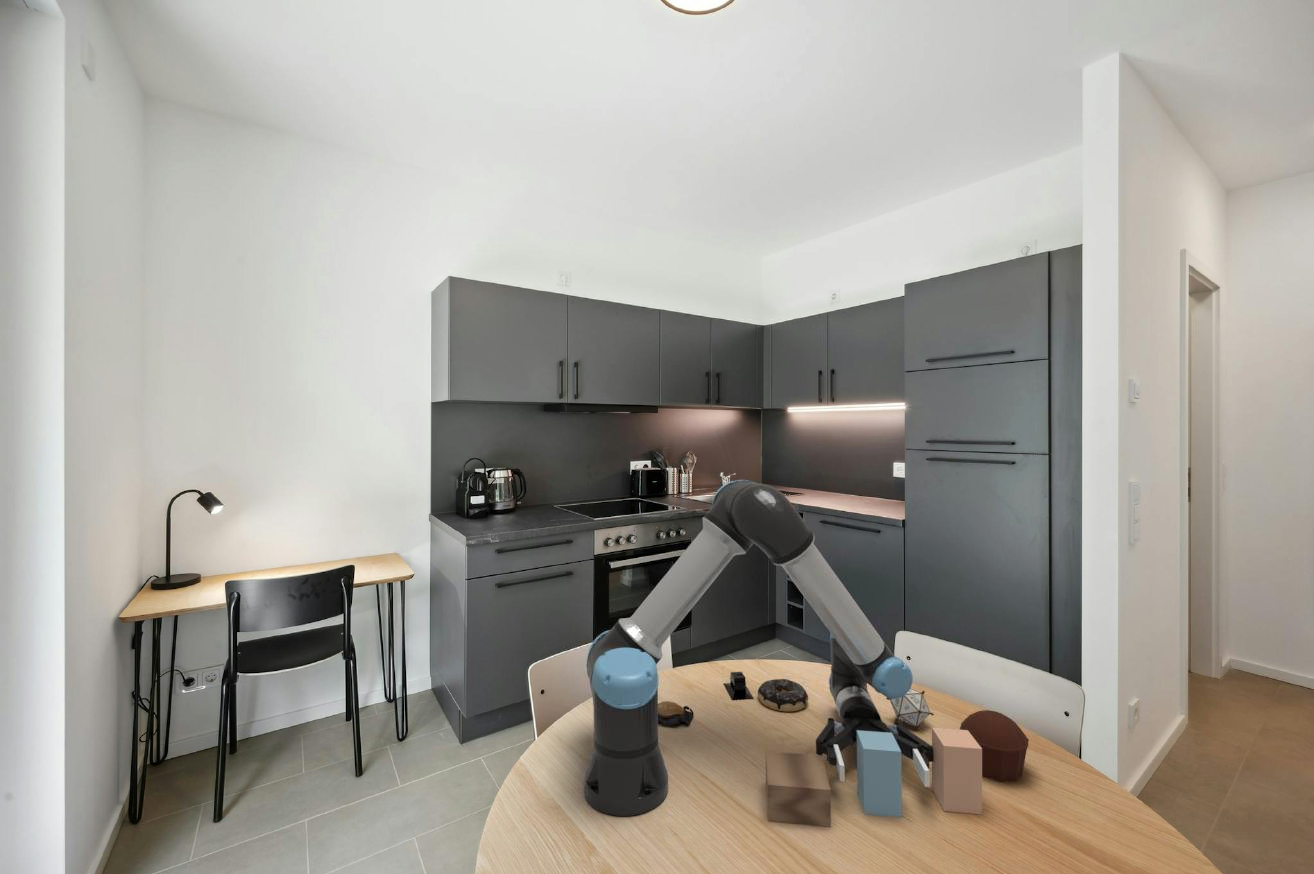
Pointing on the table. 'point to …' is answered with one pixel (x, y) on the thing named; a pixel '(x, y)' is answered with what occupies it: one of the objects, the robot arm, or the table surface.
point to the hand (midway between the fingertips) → (884, 776)
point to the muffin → (998, 744)
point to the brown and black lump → (674, 715)
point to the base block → (797, 789)
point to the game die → (911, 708)
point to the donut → (783, 695)
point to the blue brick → (879, 774)
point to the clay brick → (957, 770)
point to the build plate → (737, 687)
